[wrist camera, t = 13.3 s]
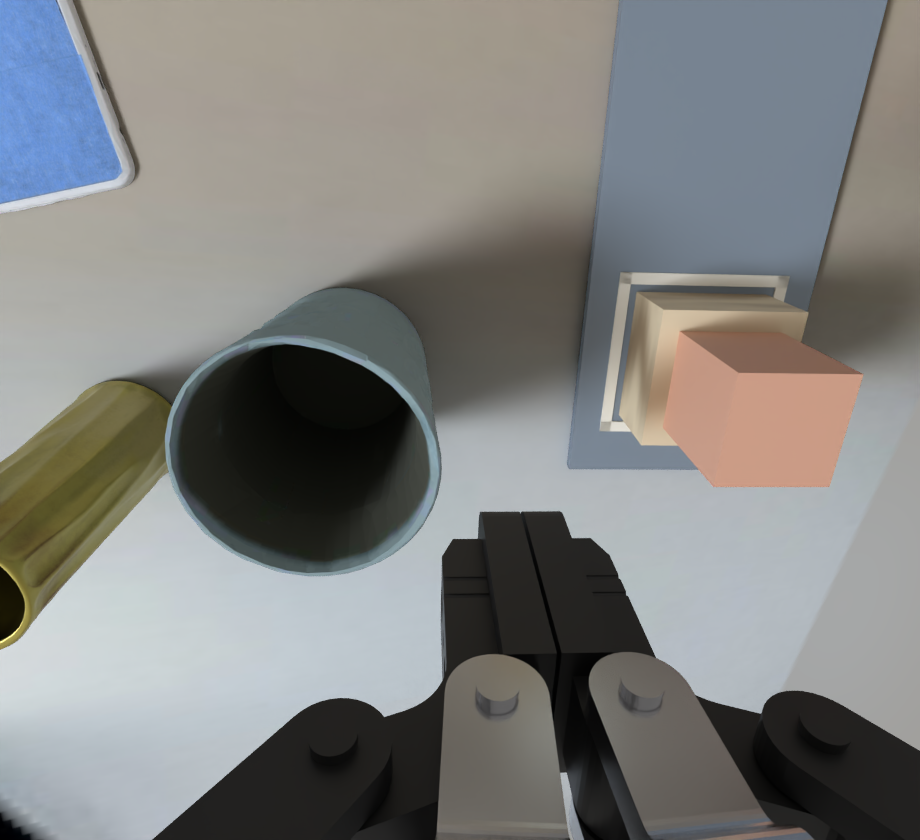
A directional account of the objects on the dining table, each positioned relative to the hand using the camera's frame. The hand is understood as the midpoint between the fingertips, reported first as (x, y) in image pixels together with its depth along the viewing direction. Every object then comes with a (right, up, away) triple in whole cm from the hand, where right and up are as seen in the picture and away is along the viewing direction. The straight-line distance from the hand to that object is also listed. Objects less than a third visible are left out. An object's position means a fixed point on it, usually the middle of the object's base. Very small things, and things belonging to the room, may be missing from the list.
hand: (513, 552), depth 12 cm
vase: (-20, +2, +23) cm, 30 cm away
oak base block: (+12, +6, +22) cm, 26 cm away
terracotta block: (+12, +4, +19) cm, 23 cm away
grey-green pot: (-7, +5, +22) cm, 24 cm away
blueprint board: (+12, +11, +21) cm, 26 cm away
